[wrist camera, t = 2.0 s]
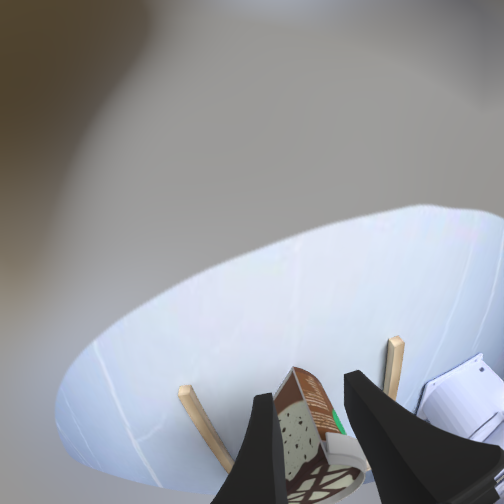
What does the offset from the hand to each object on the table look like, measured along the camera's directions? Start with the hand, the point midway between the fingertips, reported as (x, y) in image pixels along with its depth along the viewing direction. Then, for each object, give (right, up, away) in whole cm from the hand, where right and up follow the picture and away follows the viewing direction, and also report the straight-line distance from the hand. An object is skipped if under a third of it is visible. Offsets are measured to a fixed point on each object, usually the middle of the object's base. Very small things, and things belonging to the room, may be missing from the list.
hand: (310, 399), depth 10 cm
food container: (+2, -8, +13) cm, 15 cm away
